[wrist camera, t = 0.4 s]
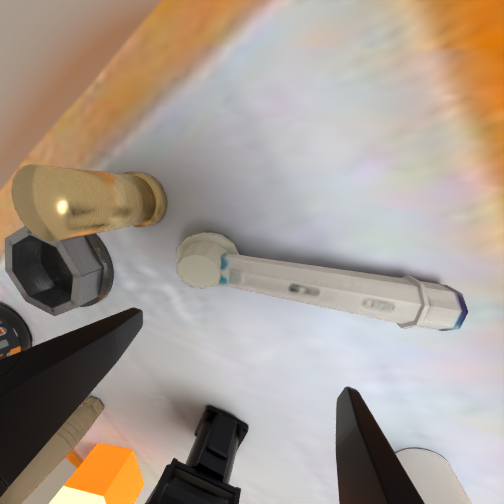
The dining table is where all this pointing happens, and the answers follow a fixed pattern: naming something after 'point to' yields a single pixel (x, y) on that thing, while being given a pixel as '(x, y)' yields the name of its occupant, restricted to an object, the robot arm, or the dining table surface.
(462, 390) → the dining table surface
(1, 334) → the supplement container
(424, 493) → the spray bottle
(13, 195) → the gold bulb-shaped piece
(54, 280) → the collar fitting
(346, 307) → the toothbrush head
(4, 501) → the handle
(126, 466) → the orange juice
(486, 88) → the dining table surface
